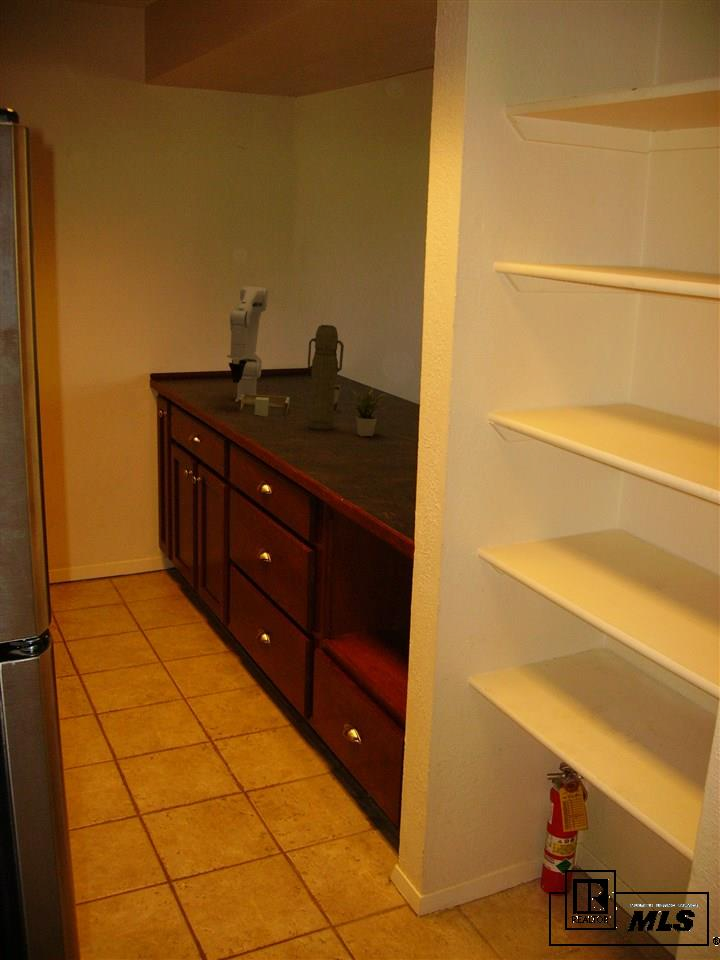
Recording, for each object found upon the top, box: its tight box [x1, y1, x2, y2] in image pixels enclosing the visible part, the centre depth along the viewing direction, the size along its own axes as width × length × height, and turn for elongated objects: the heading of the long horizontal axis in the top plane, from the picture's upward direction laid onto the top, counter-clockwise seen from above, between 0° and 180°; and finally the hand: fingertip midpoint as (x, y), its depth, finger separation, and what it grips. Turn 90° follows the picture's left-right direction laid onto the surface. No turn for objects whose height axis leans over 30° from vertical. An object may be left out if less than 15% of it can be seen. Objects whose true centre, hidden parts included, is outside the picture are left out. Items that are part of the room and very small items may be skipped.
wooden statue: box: [307, 324, 345, 431], centre depth 326 cm, size 9×12×35 cm
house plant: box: [350, 387, 388, 437], centre depth 320 cm, size 14×14×16 cm
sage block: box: [254, 397, 270, 417], centre depth 344 cm, size 4×4×6 cm
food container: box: [334, 384, 341, 412], centre depth 359 cm, size 12×6×10 cm, turn 145°
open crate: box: [237, 394, 291, 415], centre depth 355 cm, size 15×18×4 cm
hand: (237, 381), depth 349 cm, fingers open, 7 cm apart
